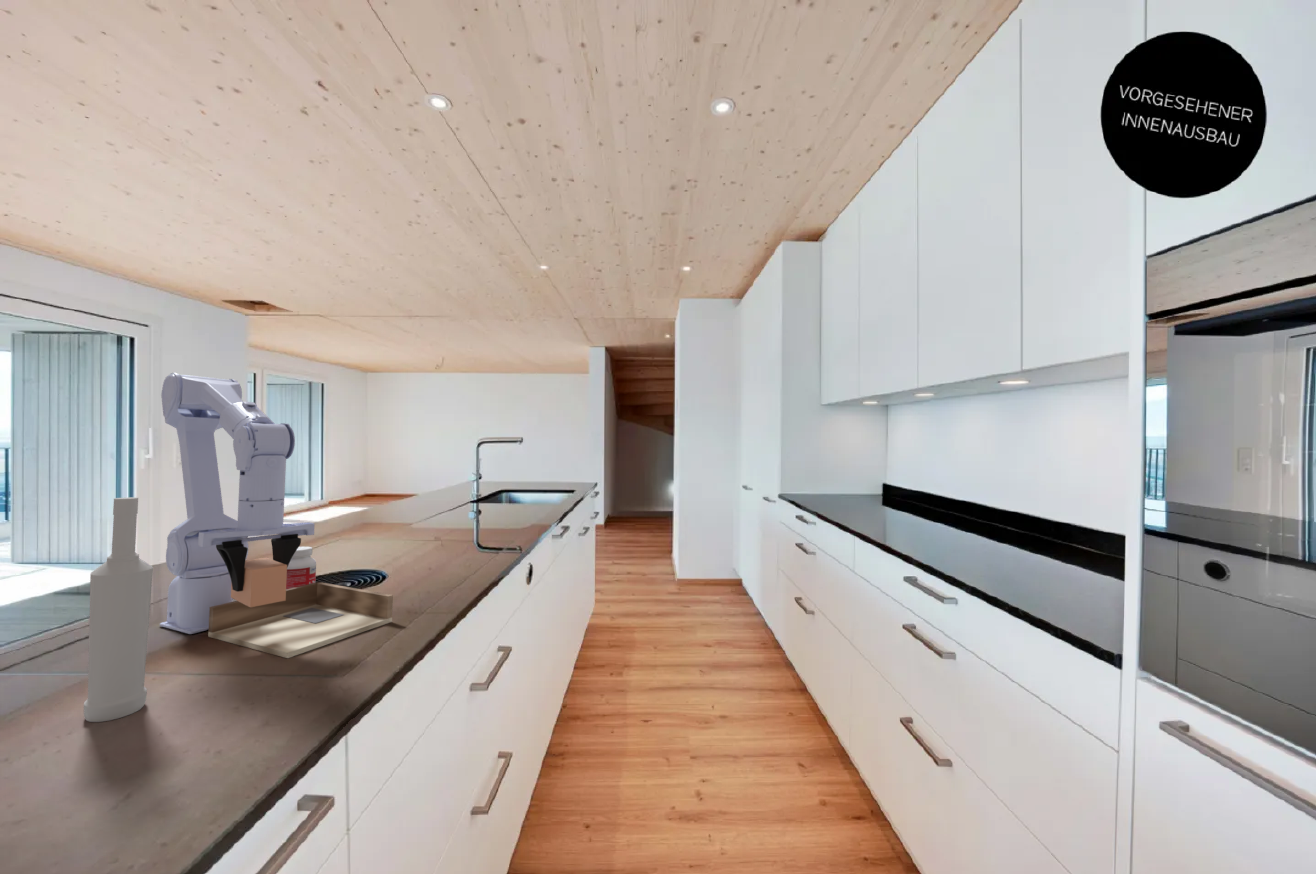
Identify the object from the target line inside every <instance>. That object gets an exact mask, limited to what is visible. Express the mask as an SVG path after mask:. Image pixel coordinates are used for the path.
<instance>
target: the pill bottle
mask: <svg viewBox="0 0 1316 874" xmlns="http://www.w3.org/2000/svg"><path fill="white" fill-rule="evenodd" d="M312 555H313V547H312V546H299V547H298V549H297V550H296V552H295V553H294V555H293V557H292V559H291V561H290V563H289V565H288V567H287V579H286V589H290V588H294V587H299V586H303V585H307V584H312V583H316V582H317V581H316V579H317V578H316V577H317V561H316V559H315V558H314V557H311V556H312Z"/></svg>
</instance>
